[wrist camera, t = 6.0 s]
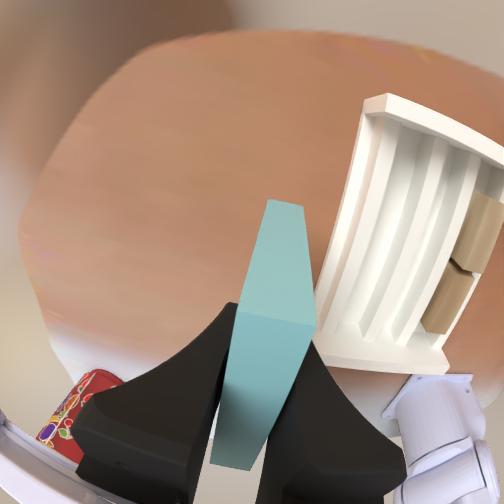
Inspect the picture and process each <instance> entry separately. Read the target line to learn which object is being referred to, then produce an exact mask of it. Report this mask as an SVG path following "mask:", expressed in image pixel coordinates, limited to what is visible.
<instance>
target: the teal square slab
mask: <svg viewBox="0 0 504 504" xmlns="http://www.w3.org/2000/svg"><path fill="white" fill-rule="evenodd" d="M316 327H317V324H316V313H315V302H314V292H313V283H312V274H311V265H310V256H309V248H308V240H307V233H306V225H305V218H304V211H303V206H300V205H296V204H291V203H286V202H282V201H277V200H272V199H268V202H267V206H266V209H265V213H264V216H263V220H262V223H261V227H260V230H259V234H258V237H257V241H256V244H255V248H254V252H253V255H252V259H251V262H250V266H249V269H248V273H247V276H246V280H245V283H244V287H243V290H242V294H241V297H240V301H239V304H238V308H237V312H236V317H235V323H234V328H233V334H232V339H231V345H230V350H229V356H228V362H227V367H226V373H225V378H224V384H223V389H222V395H221V401H220V406H219V412H218V418H217V423H216V429H215V435H214V440H213V446H212V452H211V458H210V463H211V464H216V465H220V466H225V467H230V468H235V469H240V470H247V471H250V470H251V468H252V466H253V464H254V462H255V460H256V459H257V456H258V455H259V453H260V451H261V449H262V447H263V445H264V443H265V441H266V439H267V437H268V435H269V433H270V431H271V429H272V427H273V425H274V423H275V421H276V419H277V417H278V415H279V413H280V411H281V408H282V406H283V404H284V402H285V400H286V398H287V396H288V393H289V391H290V389H291V387H292V384H293V382H294V380H295V378H296V375H297V373H298V371H299V368H300V366H301V364H302V361H303V359H304V357H305V354H306V352H307V349H308V347H309V344H310V342H311V339H312V337H313V334H314V332H315V329H316Z"/></svg>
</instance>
